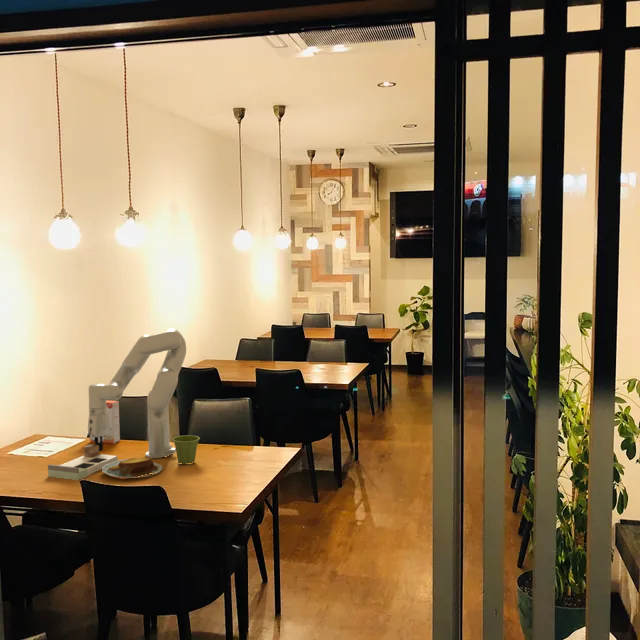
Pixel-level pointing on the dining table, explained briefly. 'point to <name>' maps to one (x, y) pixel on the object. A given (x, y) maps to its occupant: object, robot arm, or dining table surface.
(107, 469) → the food on plate
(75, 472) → the box
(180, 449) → the plant pot
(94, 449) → the walnut block
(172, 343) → the robot arm
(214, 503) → the dining table surface
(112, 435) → the cracker box
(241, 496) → the dining table surface
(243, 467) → the dining table surface
